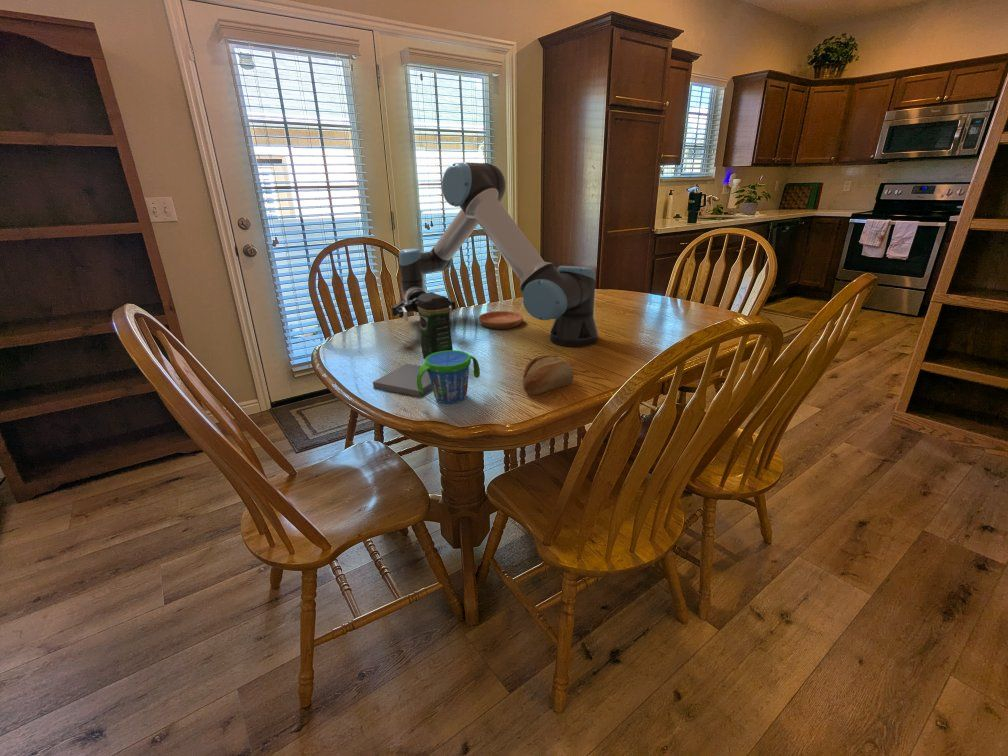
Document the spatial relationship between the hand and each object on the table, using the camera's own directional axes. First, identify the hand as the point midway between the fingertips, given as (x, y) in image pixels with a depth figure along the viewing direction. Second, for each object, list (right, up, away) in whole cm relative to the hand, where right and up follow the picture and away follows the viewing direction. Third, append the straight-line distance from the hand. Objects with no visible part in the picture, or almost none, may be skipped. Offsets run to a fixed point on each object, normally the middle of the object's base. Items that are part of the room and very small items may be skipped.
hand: (428, 314), depth 143 cm
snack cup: (+10, -24, -31) cm, 41 cm away
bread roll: (+34, -22, -27) cm, 48 cm away
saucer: (+22, 0, +27) cm, 35 cm away
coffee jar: (+3, -13, -4) cm, 14 cm away
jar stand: (-1, -20, -22) cm, 30 cm away
